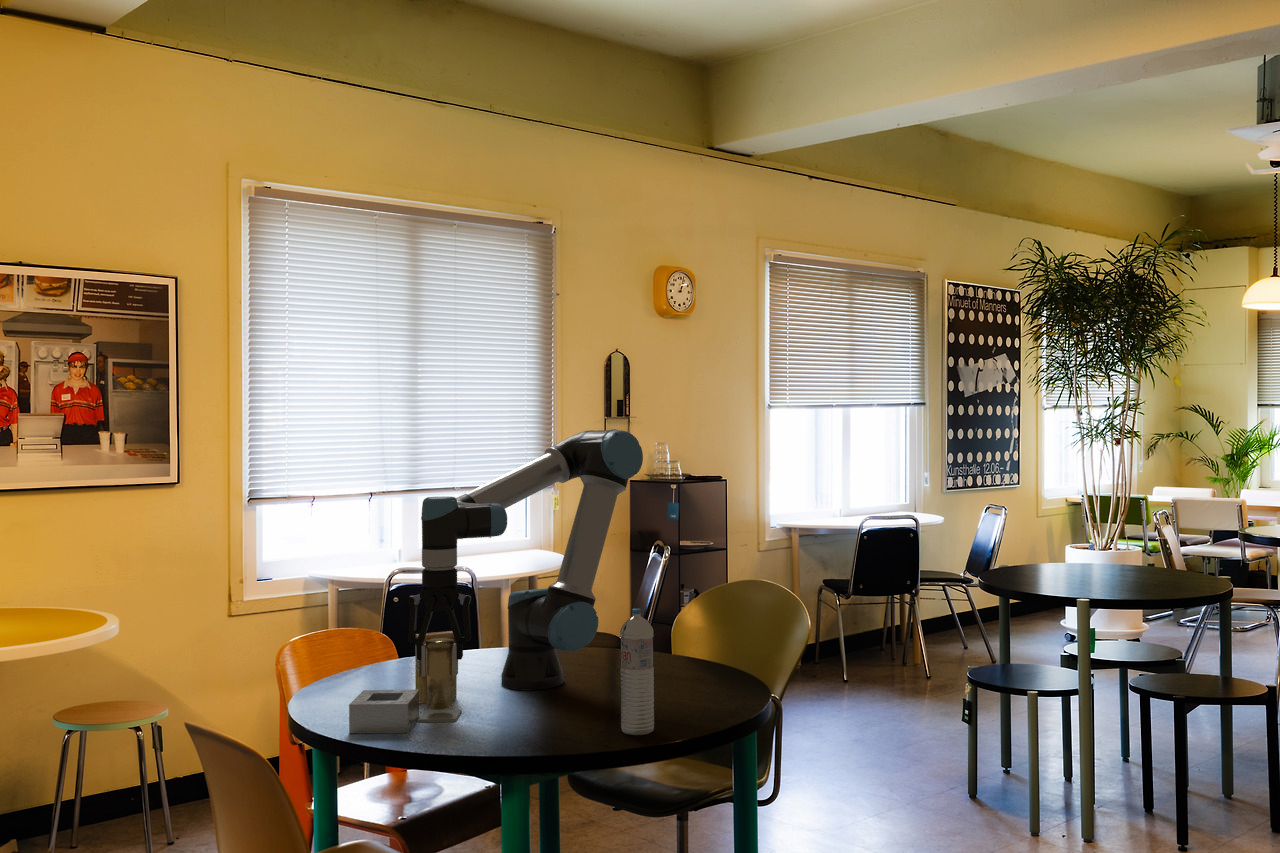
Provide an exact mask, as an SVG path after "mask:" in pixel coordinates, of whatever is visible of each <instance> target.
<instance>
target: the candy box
mask: <svg viewBox="0 0 1280 853" xmlns="http://www.w3.org/2000/svg"><path fill="white" fill-rule="evenodd" d="M418 635H419V633H416V637H418ZM436 638H449V639H453V640H454V643H456V641H455V638H454V635H453V632H452V630H449V631H448V630H447V631H437V632H436V631H435V632H427V633H426V636H425V639H424V644H426V641H427V640H429V639H436ZM414 645H415V647H414V648H415V649H414V651H415V654H414V656H415V660H414V661H415V665H414V667H415V671H414V672H415V676H414V677H415V689H414V690H419V704H425V703H426V704H427V675H426V676H422V660H417V646H416V644H414ZM457 678H458V676H453V700H457V698H458V697H457V690H458V689H457V687H458V686H457V680H458V679H457Z"/></svg>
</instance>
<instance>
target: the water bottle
mask: <svg viewBox="0 0 1280 853" xmlns="http://www.w3.org/2000/svg"><path fill="white" fill-rule="evenodd" d="M631 612H632V613H631V614H632V616H631V617H630V618H628V619H627V620H625V622H624V623H623V624H622V625H621V628H620V632H619V633H620V634H619V636H620V665H621V666H620V728H621V729H620V730H621V732H623V733H624V734H626V735H630V736H644V735H649V734H651V733H652V732H653V731H654V730H655V708H654V707H655V704H654V703H655V690H654V689H655V686H654V685H655V681H654V680H655V677H654V675H655V674H654V673H655V672H654V671H655V670H654V669H655V668H654V642H653V641H654V629H653V626H652V625H651V624H650V622H649V621H648V620H647V619H646V618H644V617H643V616H641V615H642V609H641V608H632V610H631Z"/></svg>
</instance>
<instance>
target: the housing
mask: <svg viewBox="0 0 1280 853" xmlns="http://www.w3.org/2000/svg"><path fill="white" fill-rule="evenodd" d="M348 717H349V721H348V722H349V723H348V724H349V725H348V726H349V727H348V734H349V733H383V734H409V733H410V731H411V730H412V728H414V726H415V724H416V723H417V722H418V718H420V703H419V690H415V689H372V690H371V689H365V690H362V691H361V692H360V693H359V694H357V696H355V698H354V699H353V700H352V701H351V702H350V703H349V704H348ZM415 722H416V723H415ZM413 725H414V726H413ZM405 732H406V733H405ZM408 732H409V733H408Z"/></svg>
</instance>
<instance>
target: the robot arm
mask: <svg viewBox="0 0 1280 853" xmlns="http://www.w3.org/2000/svg"><path fill="white" fill-rule="evenodd" d="M643 461H644V455H643V448H642V446H641V444H640V442H639V440H638V438H637V437H635V435H634V434H632V433H630V432H629V431H627V430H619V429H607V430H606V429H605V430H604V429H603V430H602V429H601V430H593V429H592V430H583V431H581V432H578V433H576V434H573V435H572V436H570V437H569V436H568V438H565V439H563V440H561V441H559V442H557V443H555V444H554V445H552V446H550V447H548V448H546V449H545V451H544V453H543V454H542V455H540V456H538V457H536V458H535V459H532V460H531V461H529V462H526V463H524V464H523V465H521V466H519V467H517V468H514V469H512V470H510V471H508V472H506V473H504V474H502V475H500V476H498V477H496V478H494V479H492V480H490V481H489V482H486V483H484V484H482V485H480V486H478V487H476V488H475V489H472V490H469V491H468V492H466V493H464V494H461V495H460V496H457V497H455V496H443V495H442V496H427V497H425V498H424V499H423V501H422V506H421V517H420V520H421V547H422V548H421V566H422V567H423V569H422V571H421V590H420V592H419V594H416V595H413V594H412V595H409V597H408V598H407V602H408V606H409V614H408V615H409V616H408V617H409V618H408V629H407V630H408V632H407V633H408V634H407V641H408V643H409V644H414V645H415V644H416V646H417V660H422V676H426V675H427V648H426V644H424V639H425V636H426V633H428V629H429V626H430V624H431V620H432V616H433V613H434V612H445V615H446V616H447V618H448V621H449V625H450V629H451V631H452V632H453V635H454V638H455V641H456V643H454V645H453V676H457V675H458V674H459V660H462V659H463V656H464V644H465V643H469V642H470V641H471V639H472V625H471V610H470V608H471V607H470V605H471V601H472V596H471V594H467V595H466V594H463V593H461V592H460V591H459V589H458V569H457V568H456V566H457V565H458V540H463V539H477V538H478V539H479V538H480V539H481V538H489V539H491V538H493V537H501V536H502V535H503V534H504V533H505V532H506V529H507V527H508V514H507V511H506V509H507V508H510V507H512V506H513V505H515V504H517V503H519V502H521V501H523V500H524V499H526V498H528V497H530V496H533V495H535V494H537V493H538V492H540V491H542V490H544V489H546V488H548V487H550V486H552V485H554V484H555V483H561V484H564V483H567V482H568V481H571V480H573V479H578V478H579V479H580V481H581V482H582V485H583V487H582V493H581V494H580V498H579V502H578V505H577V507H576V508H577V509H576V512H575V515H574V520H573V522H572V523H573V524H572V527H571V529H570V534H569V537H568V540H567V543H566V549H565V550H564V551H565V552H564V555H563V558H562V562H561V566H560V568H559V572H558V576H557V579H556V581H555V582H553V583H552V584H550V585H549V586H548V587H546V588H535V589H526V590H525V589H524V590H517V591H512V592H511V593H509V595H508V600H507V601H508V602H507V620H508V621H507V622H508V623H507V625H508V628H507V630H508V633H507V634H508V636H507V639H508V653H507V657H506V659H505V663H504V666H503V669H502V673H501V676H500V677H501V686H503V687H505V688H507V689H512V690H520V691H521V690H522V691H524V690H525V691H532V690H533V691H535V690H546V689H551V688H555V687H559V686H561V685H562V684H563V683H564V672H563V668H562V666H561V663H560V660H559V656H558V653H557V650H558V651H561V652H562V651H563V652H566V651H567V652H576V651H577V652H578V651H579V650H580V651H581V650H582V649H584V648H585V647H587V646H588V645H589V644H590V643H591V642H592V641H593V640H594V638H595V636H596V635H597V632H598V628H599V617H598V616H597V614H598V613H597V611H596V609H595V607H594V606H595V603H596V599H597V598H596V596H595V595H594V593H593V587H594V583H595V579H596V575H597V572H598V568H599V563H600V561H601V557H602V553H603V550H604V547H605V542H606V539H607V535H608V531H609V527H610V524H611V520H612V517H613V514H614V511H615V510H614V509H615V507H616V503H617V499H618V495H620V494H621V493H622V492H623V493H624V492H625V491H626V489H627V486H628V482H629V480H630V479H632V478H633V477H635V475H637V474H639V472H640V470H641V468H642V465H643ZM420 600H421V601H422V602H423V604H424V606H426V610H425V613H424V617H423V621H422V623H421V626H420V630H419V632H418V634H419V635H418V637H416V634H417V624H418V623H417V622H418V605H419V604H420ZM457 600H459V603H460V605H461V607H462V611H461V612H462V622H463V623H462V624H463V627H462V628H463V635H462V631H461V628H460V626H459V622H458V619H457V616H456V612H455V608H454V605H455V603H456V602H457ZM457 677H458V676H457Z"/></svg>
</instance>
